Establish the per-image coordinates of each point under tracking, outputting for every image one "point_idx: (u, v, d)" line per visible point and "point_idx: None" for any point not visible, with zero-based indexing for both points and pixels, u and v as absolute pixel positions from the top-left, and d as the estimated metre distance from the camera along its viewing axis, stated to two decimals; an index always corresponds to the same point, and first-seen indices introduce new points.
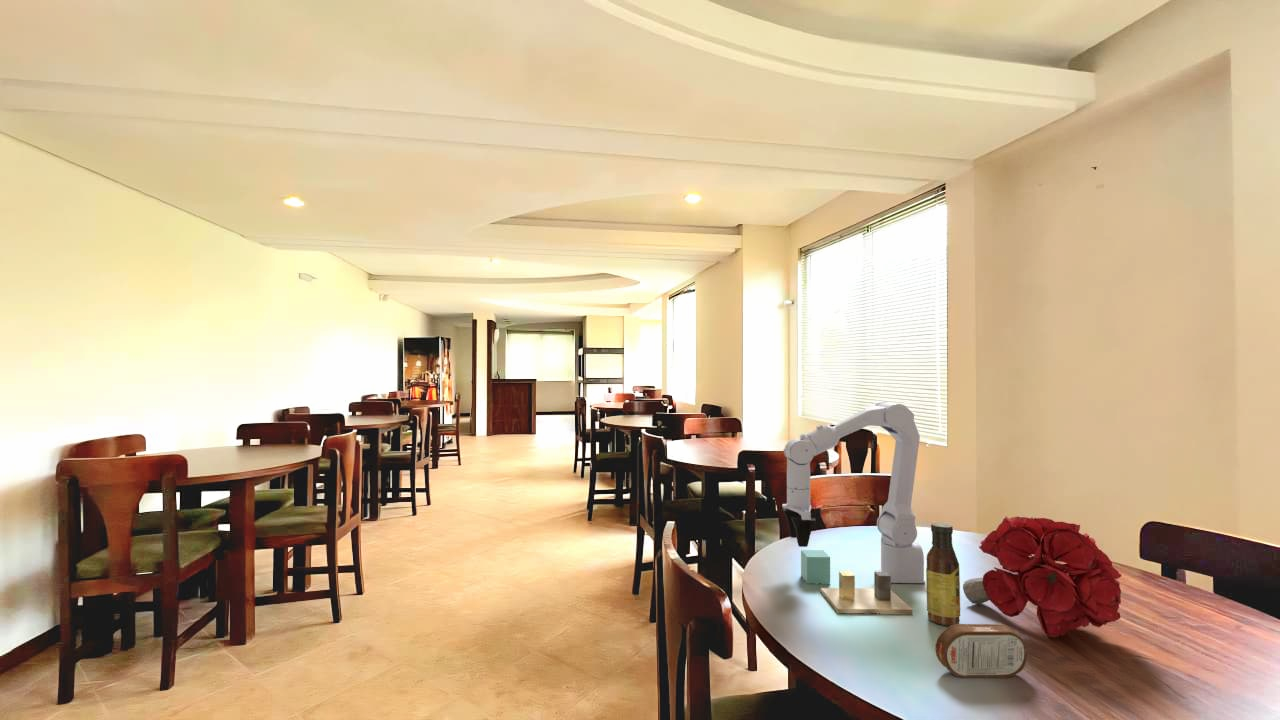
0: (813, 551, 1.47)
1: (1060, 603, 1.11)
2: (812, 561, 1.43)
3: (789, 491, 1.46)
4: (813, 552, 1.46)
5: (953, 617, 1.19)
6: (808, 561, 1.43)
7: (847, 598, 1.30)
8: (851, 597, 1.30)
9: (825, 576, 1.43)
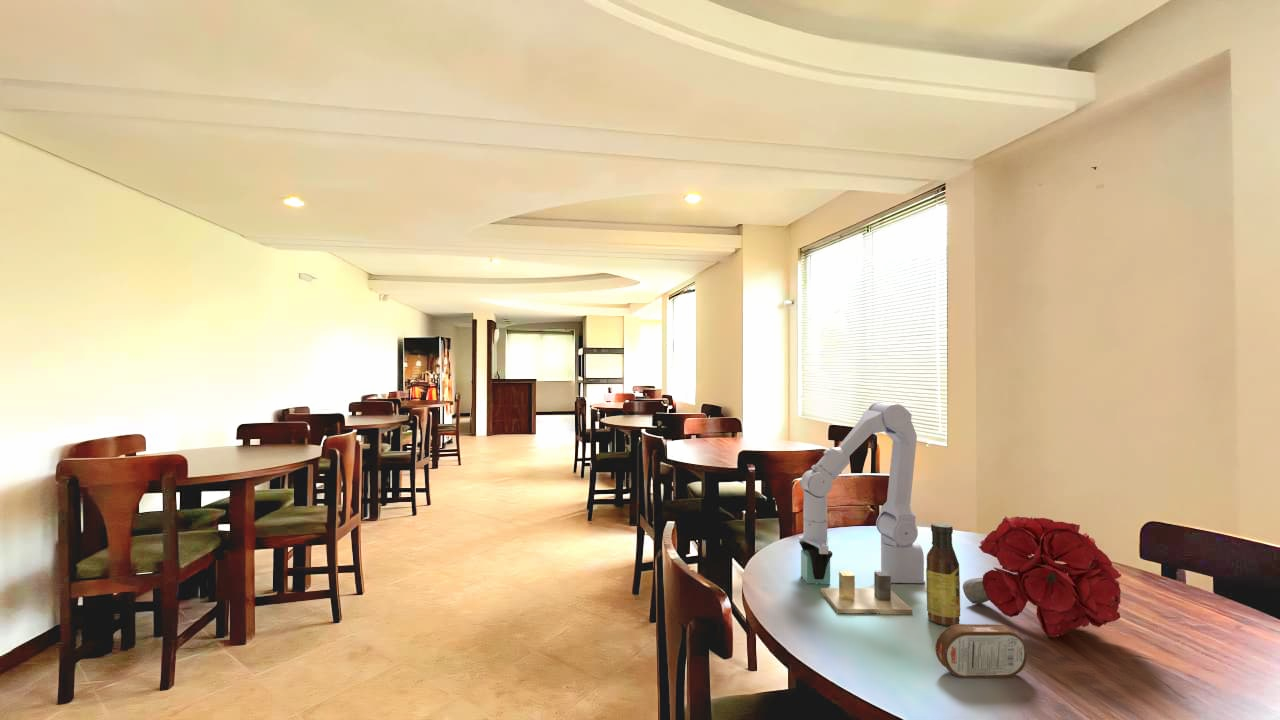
0: None
1: (1060, 603, 1.11)
2: None
3: (806, 523, 1.45)
4: None
5: (953, 617, 1.19)
6: (808, 561, 1.43)
7: (847, 598, 1.30)
8: (851, 597, 1.30)
9: (825, 576, 1.43)
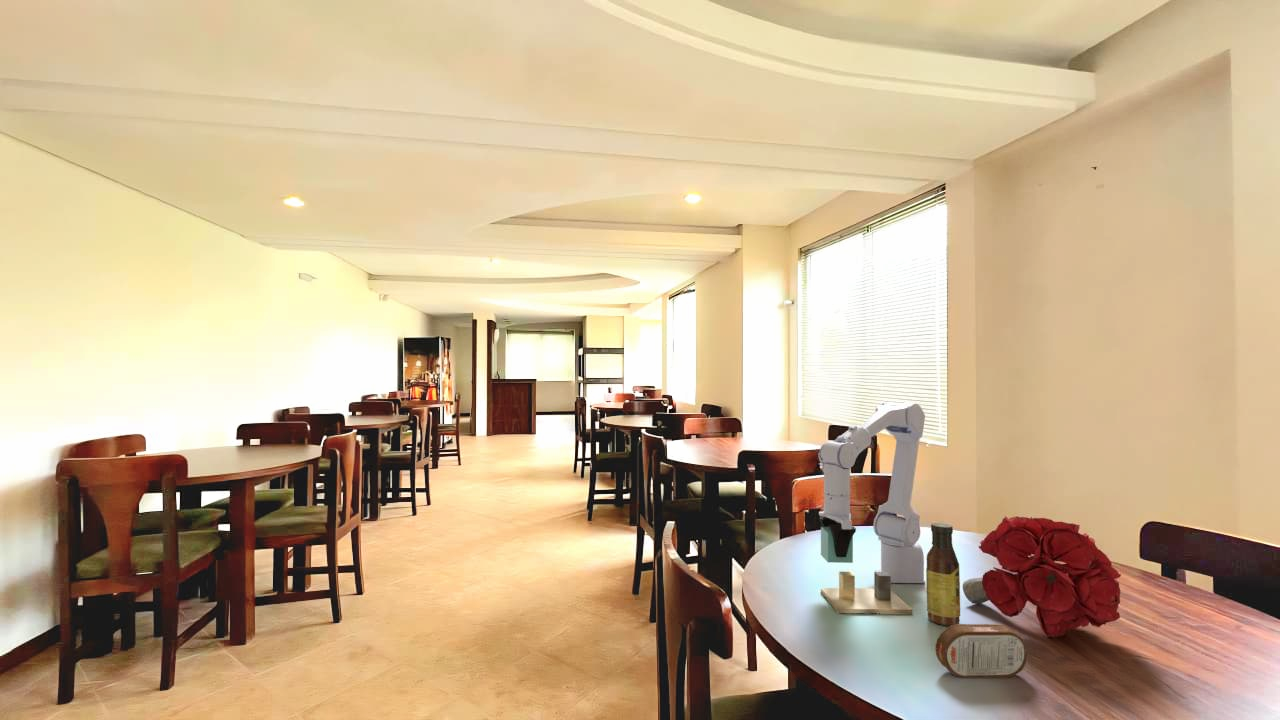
0: None
1: (1059, 603, 1.11)
2: None
3: (827, 498, 1.35)
4: None
5: (953, 617, 1.19)
6: (829, 538, 1.33)
7: (847, 598, 1.30)
8: (851, 597, 1.30)
9: (847, 554, 1.33)
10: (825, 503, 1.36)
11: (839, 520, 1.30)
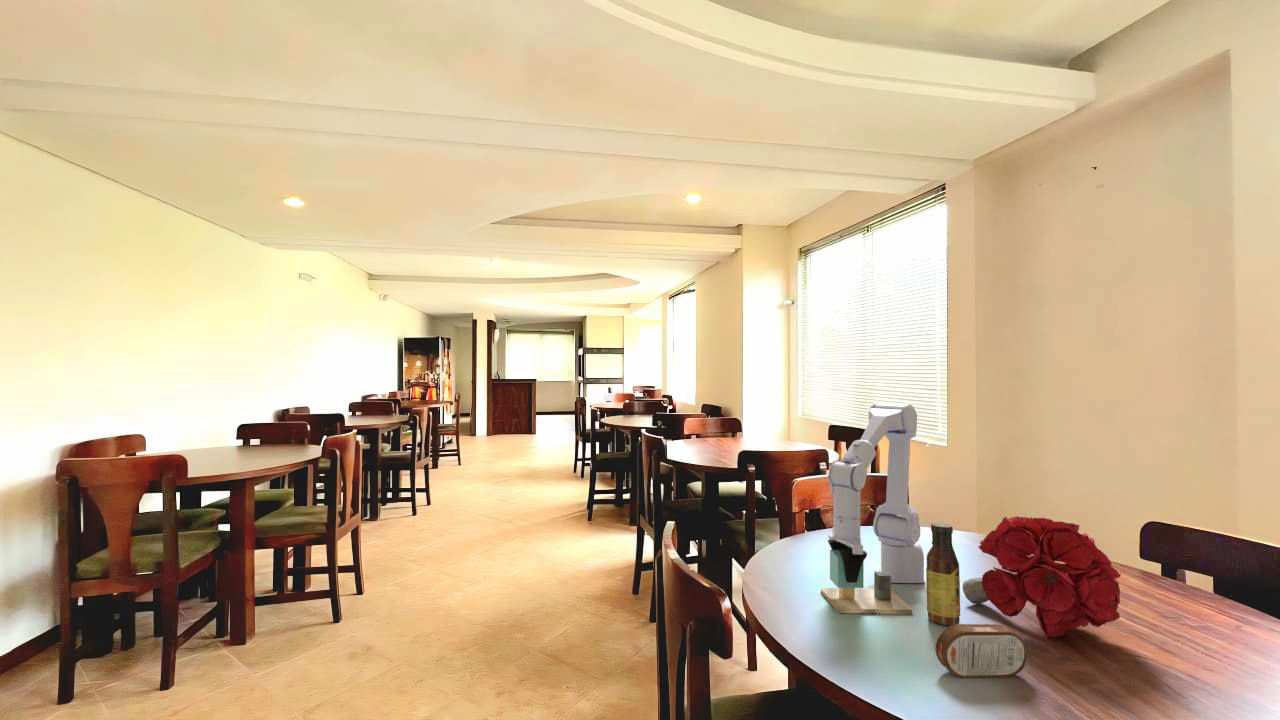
0: None
1: (1059, 603, 1.11)
2: None
3: (837, 521, 1.31)
4: None
5: (953, 617, 1.19)
6: (839, 562, 1.29)
7: (847, 598, 1.30)
8: (851, 597, 1.30)
9: (858, 579, 1.29)
10: (835, 526, 1.32)
11: (850, 544, 1.26)
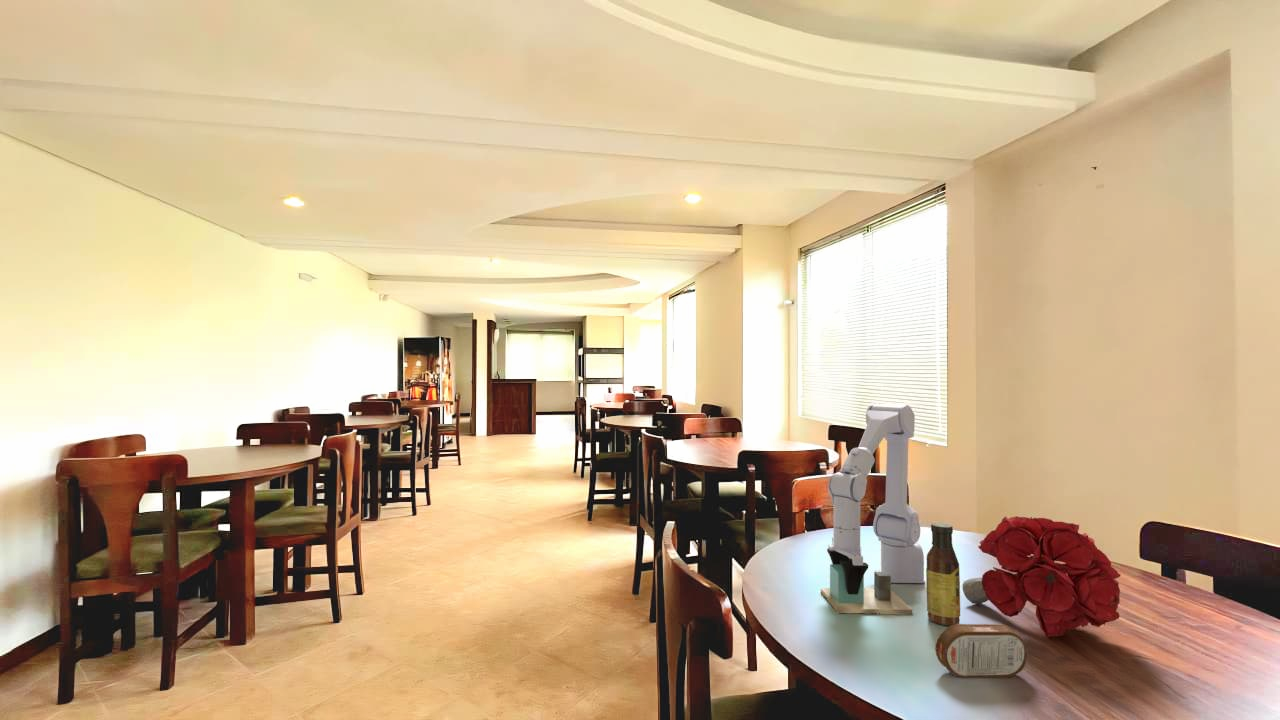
0: None
1: (1059, 603, 1.11)
2: (844, 577, 1.29)
3: (837, 531, 1.31)
4: None
5: (953, 617, 1.19)
6: (839, 577, 1.29)
7: None
8: None
9: (858, 594, 1.29)
10: (835, 536, 1.31)
11: (850, 555, 1.26)
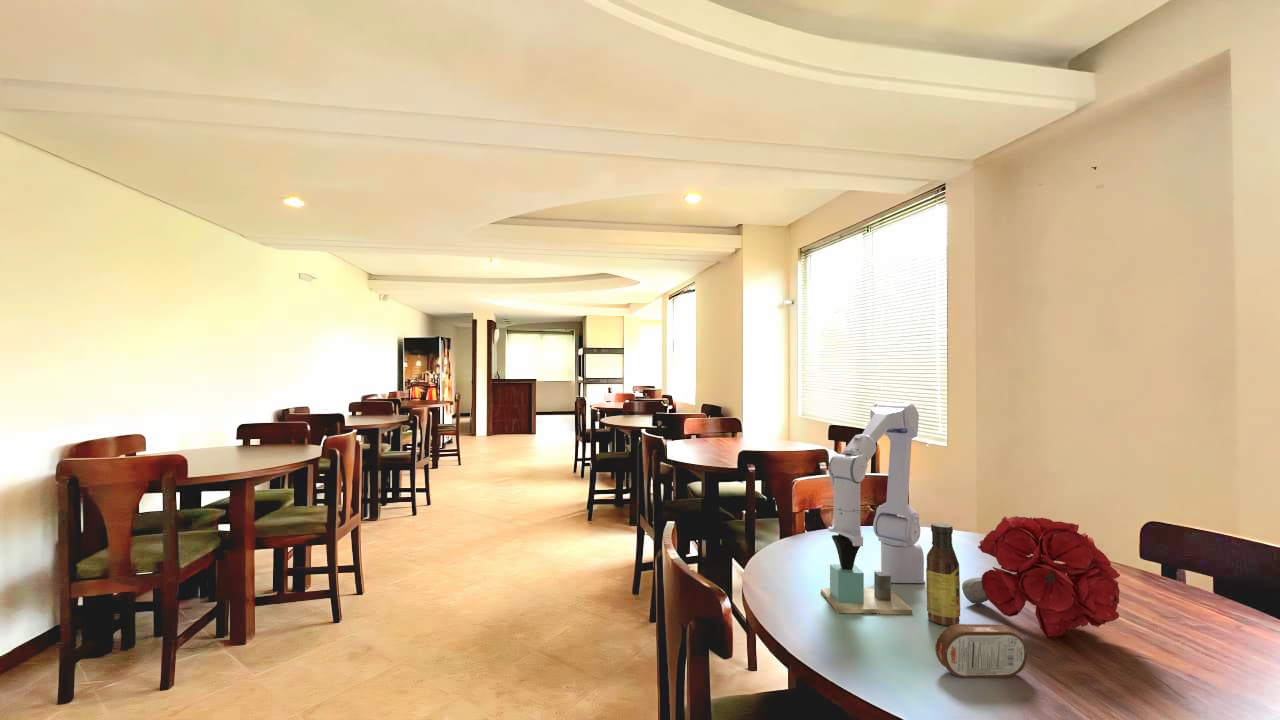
0: None
1: (1058, 603, 1.11)
2: (844, 577, 1.29)
3: (837, 513, 1.31)
4: None
5: (953, 617, 1.19)
6: (839, 577, 1.29)
7: None
8: None
9: (858, 594, 1.29)
10: (835, 518, 1.32)
11: (850, 536, 1.26)
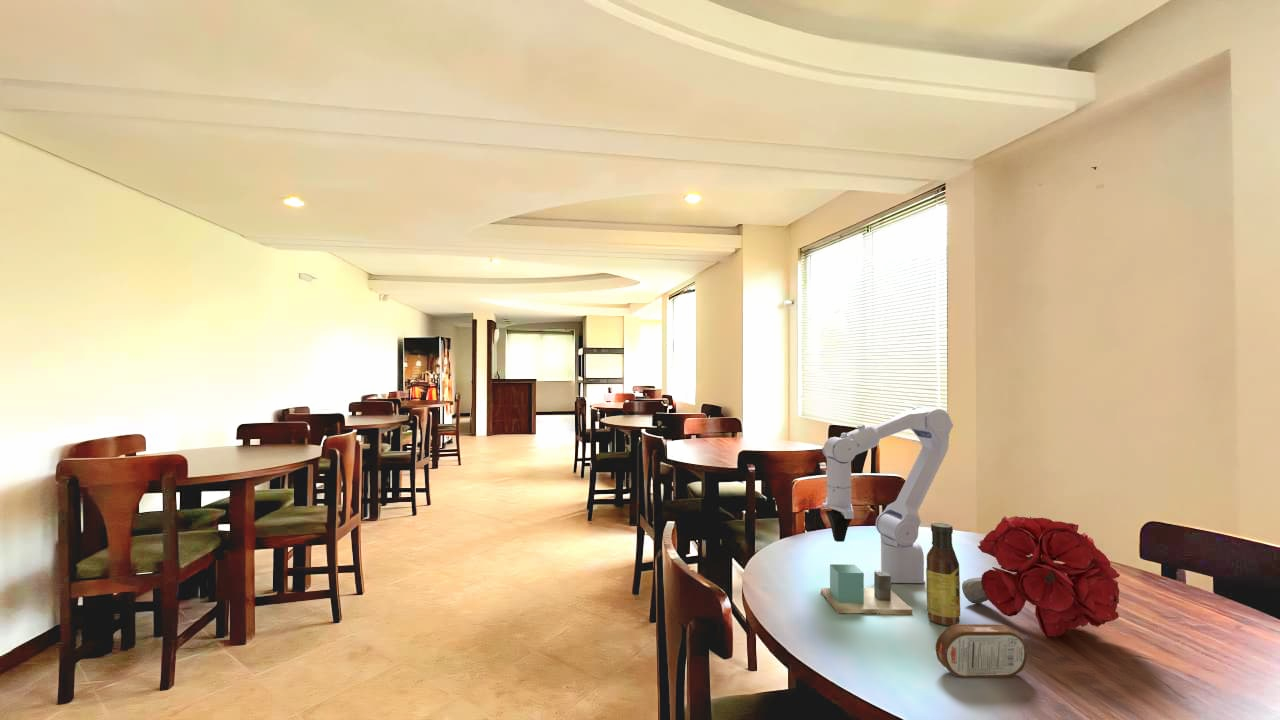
0: (844, 566, 1.33)
1: (1058, 603, 1.11)
2: (844, 577, 1.29)
3: (830, 490, 1.45)
4: (844, 567, 1.32)
5: (953, 617, 1.19)
6: (839, 577, 1.29)
7: None
8: None
9: (858, 594, 1.29)
10: (828, 495, 1.45)
11: (842, 510, 1.40)
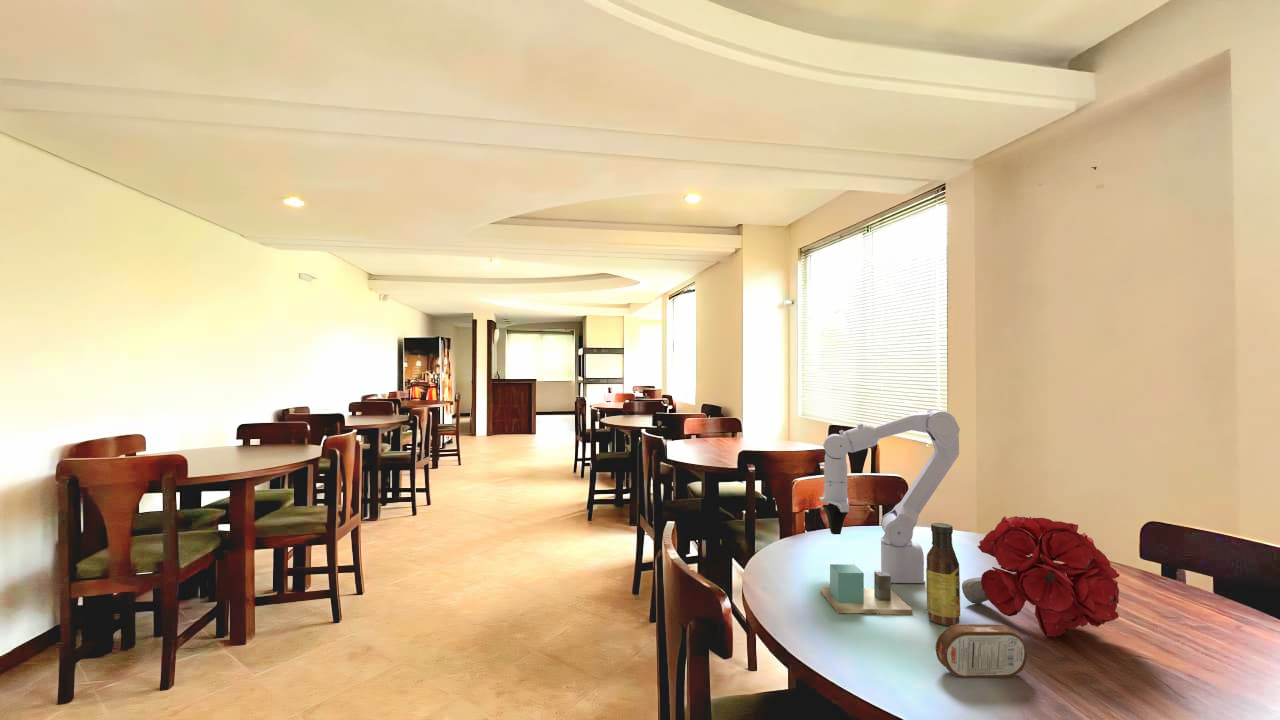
0: (844, 566, 1.33)
1: (1058, 603, 1.11)
2: (844, 577, 1.29)
3: (827, 484, 1.51)
4: (844, 567, 1.32)
5: (953, 617, 1.19)
6: (839, 577, 1.29)
7: None
8: None
9: (858, 594, 1.29)
10: (825, 489, 1.52)
11: (838, 504, 1.46)
